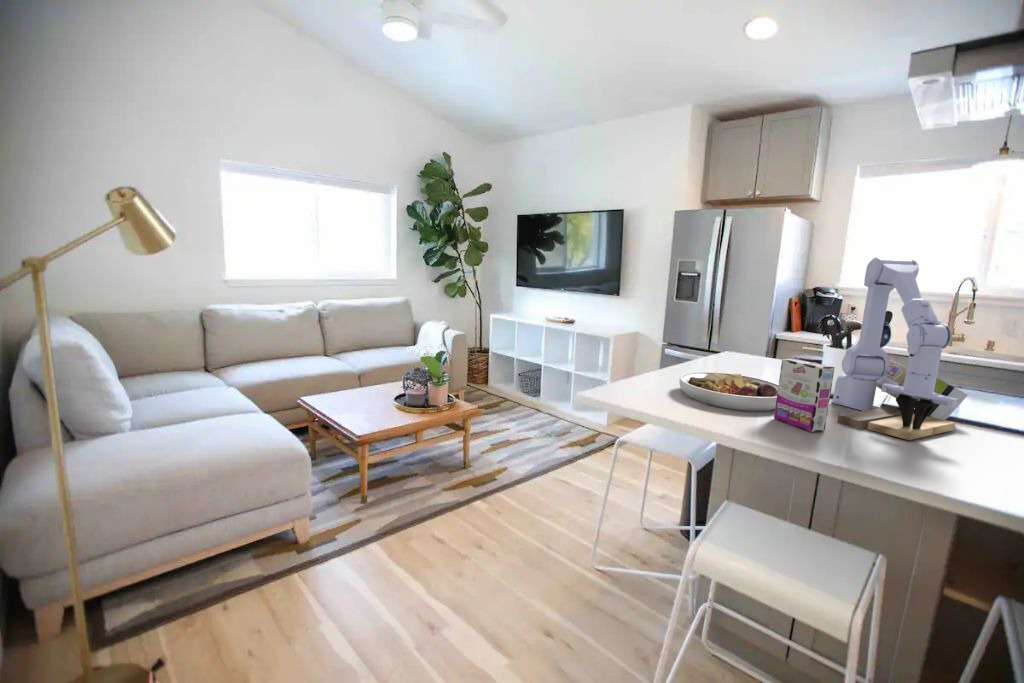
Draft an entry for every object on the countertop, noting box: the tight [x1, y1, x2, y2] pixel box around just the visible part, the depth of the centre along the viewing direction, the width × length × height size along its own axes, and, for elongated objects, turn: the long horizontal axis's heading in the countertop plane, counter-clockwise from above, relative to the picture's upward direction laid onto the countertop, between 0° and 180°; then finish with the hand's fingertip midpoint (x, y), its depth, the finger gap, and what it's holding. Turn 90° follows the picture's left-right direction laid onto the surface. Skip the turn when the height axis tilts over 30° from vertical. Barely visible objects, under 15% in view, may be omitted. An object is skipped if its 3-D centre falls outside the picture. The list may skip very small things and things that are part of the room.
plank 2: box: [893, 413, 956, 436], centre depth 125 cm, size 9×11×2 cm
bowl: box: [678, 371, 779, 412], centre depth 145 cm, size 30×30×8 cm
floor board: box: [836, 405, 902, 430], centre depth 129 cm, size 6×24×2 cm, turn 116°
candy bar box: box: [773, 358, 835, 433], centre depth 122 cm, size 11×5×16 cm, turn 21°
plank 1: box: [867, 418, 933, 441], centre depth 120 cm, size 9×11×2 cm
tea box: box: [876, 356, 969, 421], centre depth 137 cm, size 15×10×15 cm
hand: (911, 427), depth 118 cm, fingers closed on plank 1
